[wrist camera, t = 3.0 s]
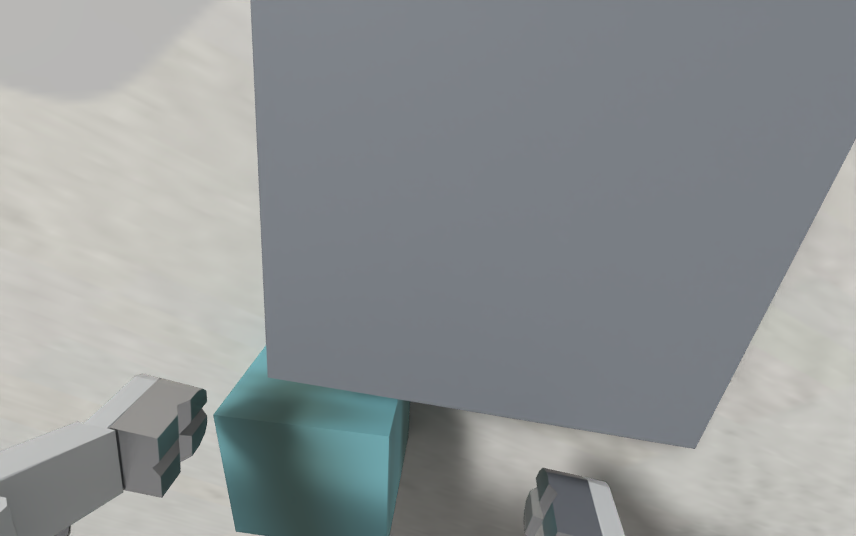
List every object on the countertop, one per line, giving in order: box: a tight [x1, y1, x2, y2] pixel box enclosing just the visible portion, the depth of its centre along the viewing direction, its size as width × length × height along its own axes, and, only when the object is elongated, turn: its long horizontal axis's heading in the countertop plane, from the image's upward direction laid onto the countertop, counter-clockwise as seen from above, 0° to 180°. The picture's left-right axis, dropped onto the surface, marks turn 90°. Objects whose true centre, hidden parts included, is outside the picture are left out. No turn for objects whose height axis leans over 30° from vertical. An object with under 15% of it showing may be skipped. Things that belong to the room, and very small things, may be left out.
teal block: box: [213, 346, 410, 536], centre depth 16 cm, size 5×5×5 cm
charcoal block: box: [251, 0, 856, 449], centre depth 11 cm, size 10×10×6 cm
